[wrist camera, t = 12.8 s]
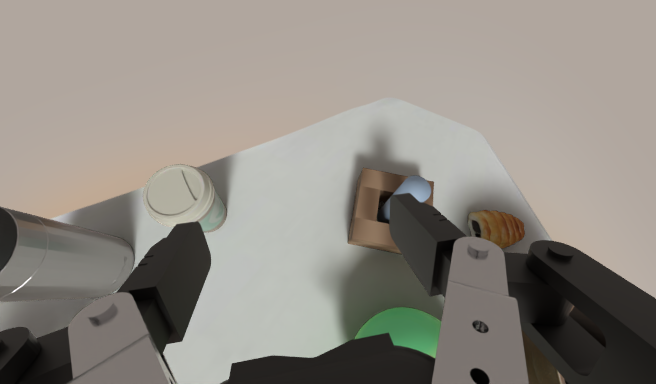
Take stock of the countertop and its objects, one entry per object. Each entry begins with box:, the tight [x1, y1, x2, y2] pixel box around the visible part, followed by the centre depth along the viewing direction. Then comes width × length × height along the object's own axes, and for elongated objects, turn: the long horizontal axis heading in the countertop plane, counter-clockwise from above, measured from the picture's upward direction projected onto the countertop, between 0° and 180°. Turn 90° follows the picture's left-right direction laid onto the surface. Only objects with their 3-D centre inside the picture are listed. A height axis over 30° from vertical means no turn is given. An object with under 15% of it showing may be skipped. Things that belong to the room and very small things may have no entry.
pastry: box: [468, 210, 525, 248], centre depth 44 cm, size 9×7×4 cm
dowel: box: [377, 176, 431, 224], centre depth 39 cm, size 4×4×14 cm
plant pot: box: [521, 305, 606, 384], centre depth 32 cm, size 16×16×16 cm
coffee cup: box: [143, 164, 227, 232], centre depth 38 cm, size 8×8×12 cm
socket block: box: [348, 168, 434, 254], centre depth 43 cm, size 12×12×5 cm
